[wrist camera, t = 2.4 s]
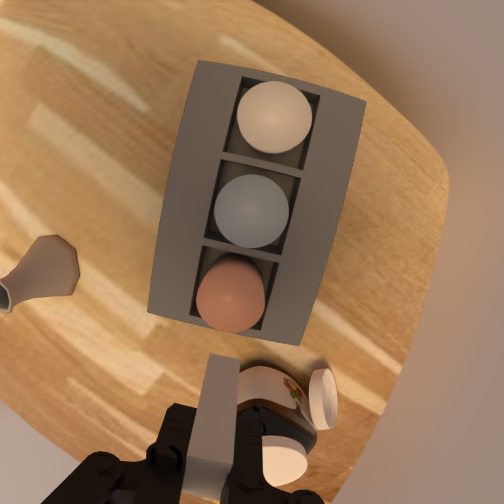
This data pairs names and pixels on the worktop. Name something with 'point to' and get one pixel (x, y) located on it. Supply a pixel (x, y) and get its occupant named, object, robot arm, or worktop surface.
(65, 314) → the worktop surface
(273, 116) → the button ivory
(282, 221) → the button slate
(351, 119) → the panel
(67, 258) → the flask
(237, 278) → the button terracotta
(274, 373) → the spread jar
